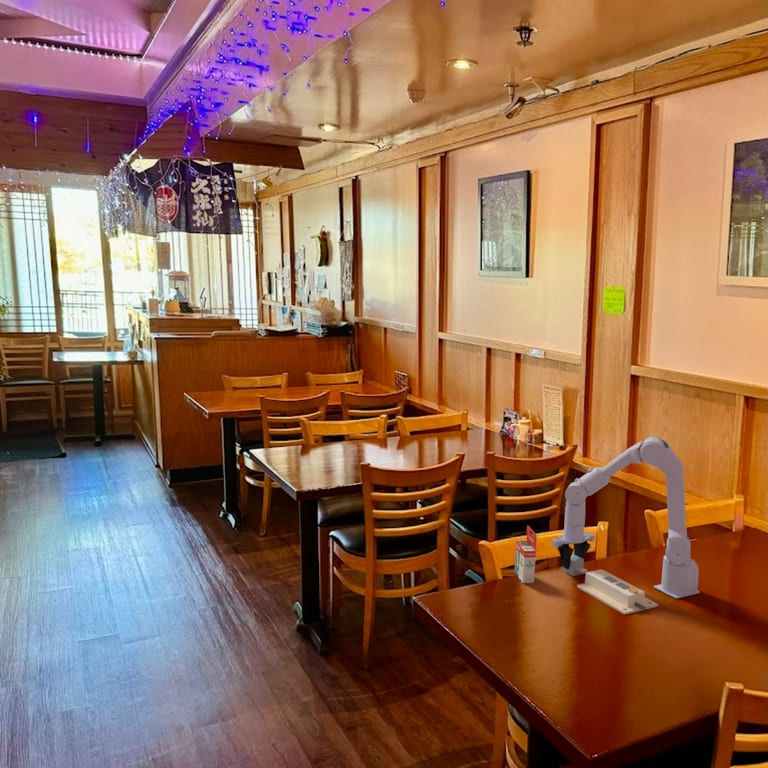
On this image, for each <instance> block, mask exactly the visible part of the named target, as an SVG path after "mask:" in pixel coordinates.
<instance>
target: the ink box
mask: <svg viewBox="0 0 768 768" xmlns="http://www.w3.org/2000/svg"><path fill="white" fill-rule="evenodd" d="M537 539H538V538H537V534H536V533H535V531H534V530H533V529H532V528H531V527H530V526H529V525H527V526H526V540H516V541H515V556H514V557H515V559H514V571H513V572H514V574H515V575H516V577H517V578H518V579H519V581H520V580H521V581H520V582H521V583H522V584H534V582H535V570H536V557H537V556H536V555H537Z"/></svg>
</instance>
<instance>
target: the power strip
mask: <svg viewBox="0 0 768 768" xmlns="http://www.w3.org/2000/svg"><path fill="white" fill-rule="evenodd" d="M584 578H585V579H584V583H579V584H577V585H576V588H578V589H579V590H581V591H583V592H584V593H587V594H588V595H590V596H592V597H593V598H595V599H596V600H598V601H600V602H602V603H604V604H605V605H606V606H608V607H610V608H612V609H614V610H615V611H616V612H618V613H620V614H622V615H629V614H634V613H637V612H642V611H646V610H650V609H654V608H656V607H657V608H658V607H659V604H658V603H657V602H655V601H653V600H651V599H650V598H647V597H645V595H646V591H644V590H643V589H640V588H639V587H637V586H634V585H633V584H631V583H629V582H628V581H625V580H624V579H621V578H620V577H618V576H615V575H613V574H612V573H609V572H608V571H605V570H604V569H596V570H591V571H587V572H586V573H585V577H584Z"/></svg>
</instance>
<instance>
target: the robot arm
mask: <svg viewBox="0 0 768 768" xmlns="http://www.w3.org/2000/svg"><path fill="white" fill-rule="evenodd" d="M643 462H645V463H646V464H648V465H652V466H653V467H656V468H658V469H659V470H661V471H662V472H663V473H665V484H666V503H667V504H666V505H667V506H666V507H667V524H668V528H667V530H668V533H667V534H668V535H667V536H668V537H667V539H666V548H665V553H664V554H665V555H664V556H663V560H662V571H661V583H660V584H657V585H656V584H655V585H653V588H654V589H657V590H658V591H660V592H662V593H664V594H666V595H668V596H669V597H672V598H674V599H681V598H685V597H689V596H693V595H697V594H700V593H701V592H700V590H698V585H699V573H700V572H699V571H700V570H699V565H698V564H697V561H695V560H694V559H692V558H691V547H692V546H691V545H692V543H691V540H690V538H689V537H688V533H687V524H686V523H687V521H686V499H685V497H686V496H685V479H684V478H685V477H684V475H685V474H684V464H683V461H682V460H681V459H680V458H679V456H678V455H677V453H675V452H674V450H673V449H672V447H671V446H670V444H669V442H667V441H665V440H664V439H662V438H661V437H659V436H657V435H649V436H647V437H645V438H644V440H643V441H642V440H640V441H638V442H637V443H635V444H634V445H632V446H630V447H629V448H627V449H626V450H625V451H624V452H622V453H621V454H619V455H618V456H617V457H615V458H614V459H612V460H611V461H609V463H607V464H606V465H604V467H599V466H598V467H590V468H588V469H587V473H585V474H584V475H582V476H581V477H580V478H578V477H577V478H576V479H574V481H573V482H571V483H570V484H569V485H568V487H566V490H565V492H564V497H565V500H566V501H565V511H564V528H563V532H562V535H561V536H558V537H556V538H553V539H552V540H551V546H552V547H554V548H556V549H557V550H558V553H559V557H560V559H561V564H562V565H563V567H564V568H566V569H569V567H570V559H571V555H572V554H574V555H576V556H578V557H580V558H582V559H584V558H585V557H586V554H587V552H588V551H589V549H590V548H591V544H590V543H589V542H594V541H595V537H596V535H595V534H594V533H591V532H586V533H585V522H586V521H585V520H586V498H587V497H588V496H592V495H594V494H595V493H597V492H598V491H599V490H601V489H602V488H604V487H606V486H607V485H608V484H609V482H610V477H612V476H613V475H615V474H616V473H618V472H620V471H621V470H622V469H624V468H626V467H628V466H630V465H631V464H642V463H643ZM570 545H573V548H572V547H571V546H570ZM573 552H574V553H573ZM584 560H585V559H584Z"/></svg>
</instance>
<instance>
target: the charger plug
mask: <svg viewBox="0 0 768 768" xmlns="http://www.w3.org/2000/svg"><path fill="white" fill-rule="evenodd" d="M584 561H585V559H582V558H580V557H578V556H576V555H574V553H572V555H571V559H570V567H569V569H566V568H564V567H563V565H562V568H561V570H562V572H565V573H566V574H568V575H570V576H571V577H575V576H579V575H584V574H586V572H588V569H586V568H584V563H585V562H584Z"/></svg>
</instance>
